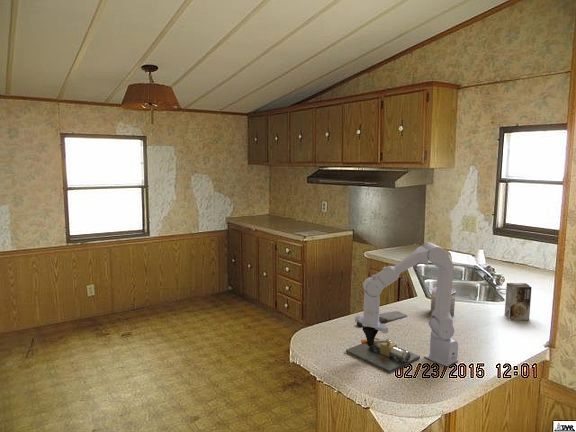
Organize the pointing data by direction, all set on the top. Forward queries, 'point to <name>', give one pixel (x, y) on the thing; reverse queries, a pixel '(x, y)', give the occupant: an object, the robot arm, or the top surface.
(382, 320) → the cleaver
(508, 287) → the coffee box
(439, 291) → the robot arm
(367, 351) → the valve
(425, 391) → the top surface
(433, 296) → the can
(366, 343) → the lever
